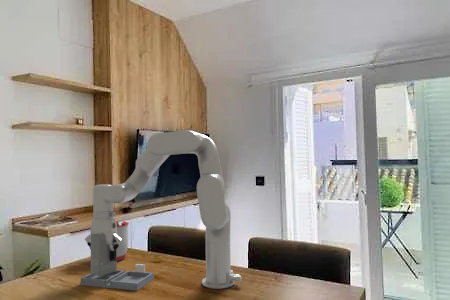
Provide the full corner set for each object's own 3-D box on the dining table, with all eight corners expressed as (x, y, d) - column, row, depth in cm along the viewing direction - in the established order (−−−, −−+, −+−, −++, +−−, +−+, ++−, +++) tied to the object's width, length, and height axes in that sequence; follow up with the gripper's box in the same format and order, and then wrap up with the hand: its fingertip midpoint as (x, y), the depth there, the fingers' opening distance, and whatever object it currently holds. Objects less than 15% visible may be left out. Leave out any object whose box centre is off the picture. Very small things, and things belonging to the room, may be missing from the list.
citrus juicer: (135, 254, 179) (134, 214, 180) (121, 264, 162) (121, 220, 162) (105, 253, 181) (105, 214, 181) (89, 263, 163) (89, 220, 164)
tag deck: (154, 278, 141) (154, 265, 141) (137, 290, 129) (137, 275, 129) (100, 274, 148) (100, 260, 148) (79, 284, 136) (79, 270, 136)
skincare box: (99, 277, 135) (100, 235, 135) (88, 273, 139) (89, 233, 139) (118, 271, 142) (118, 232, 142) (107, 268, 146) (107, 229, 146)
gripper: (127, 214, 142) (128, 258, 142) (90, 213, 147) (91, 255, 147) (116, 217, 135) (117, 263, 134) (78, 216, 140) (78, 260, 139)
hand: (103, 259), depth 140 cm, fingers closed on skincare box, 7 cm apart
